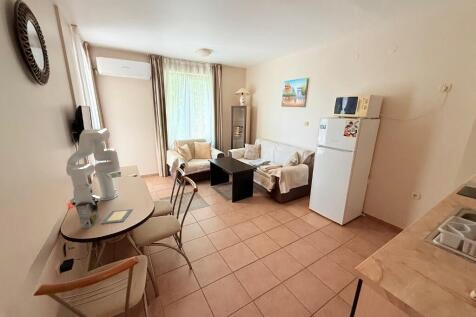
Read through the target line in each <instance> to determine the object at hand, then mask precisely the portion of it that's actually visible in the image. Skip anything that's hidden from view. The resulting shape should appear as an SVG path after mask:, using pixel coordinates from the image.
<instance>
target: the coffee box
mask: <svg viewBox="0 0 476 317" xmlns="http://www.w3.org/2000/svg"><path fill="white" fill-rule="evenodd" d="M94 203H95V202H94ZM75 208H77V209H76V211H77V214H78V219H79V223H80V225H81V228H84V229H85V228H93V226H95V225H96V224H97V223H98V222H99V221H100V220H101V217H100V213H99V208H98V209H97V210H96V211H94V209H93V204H92V203H82V204H78V205H76V207H75Z"/></svg>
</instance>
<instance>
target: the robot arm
mask: <svg viewBox="0 0 476 317" xmlns="http://www.w3.org/2000/svg"><path fill="white" fill-rule="evenodd" d="M109 139H110V131H109V130H108V129H107V128H87V129H83V130H82V131H81V133H80V134H79V140H78V147H77V150H76V151H74V153H72V154H71V155H70V157H69V158H68V159H67V161H66V168H65V170H66V174H67V176H69V177H71V181H72V185H73V198H71V199H70V200H69V202H70V203H71V205H72V206H74V207H75V208H76V205H78V204H82V203H92V204H93V209H94V211H96V210H97V209H98V210H99V206H98V203H99V202H100V200H101V201H110V200H114V199H115V198H117V197H118V195H119V194H118V193H117V192H116V191H117V189H116V188H115V185H114V180H113V177H112V175H111V174H112V173H117V172H119V171H120V169H121V168H120V167H121V166H120V161H119V156H118V152H117V150H116V149H114V148H106V146H105V142H106V141H107V140H109ZM91 155H93V158H94V160H95V161H96V162H98V163H95V164H92V163H78V162H79V161H81V160H83V159H84V158H86V157H89V156H91ZM94 172H95V174H96V176H97V180H98V184H99V187H100V193H101V196H97V195H95V192H94V189H93V187H92V183H90V182H89V179H88V176H90V175H92V174H93V173H94ZM110 173H111V174H110ZM94 202H95V203H94ZM76 210H77V208H76Z"/></svg>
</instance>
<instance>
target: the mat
mask: <svg viewBox="0 0 476 317" xmlns="http://www.w3.org/2000/svg"><path fill="white" fill-rule="evenodd" d="M133 210H134V209H133V208H130V209H119V210H112V211H111V212H110V213H109V214H108V215H107V216H106V218H105V219H104V220H103V221H101V223H100V225H105V223H107V224H117V223H124V222H125V220H126V219H127V218H128V217H129V215H130V214H131V213H132V211H133Z"/></svg>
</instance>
